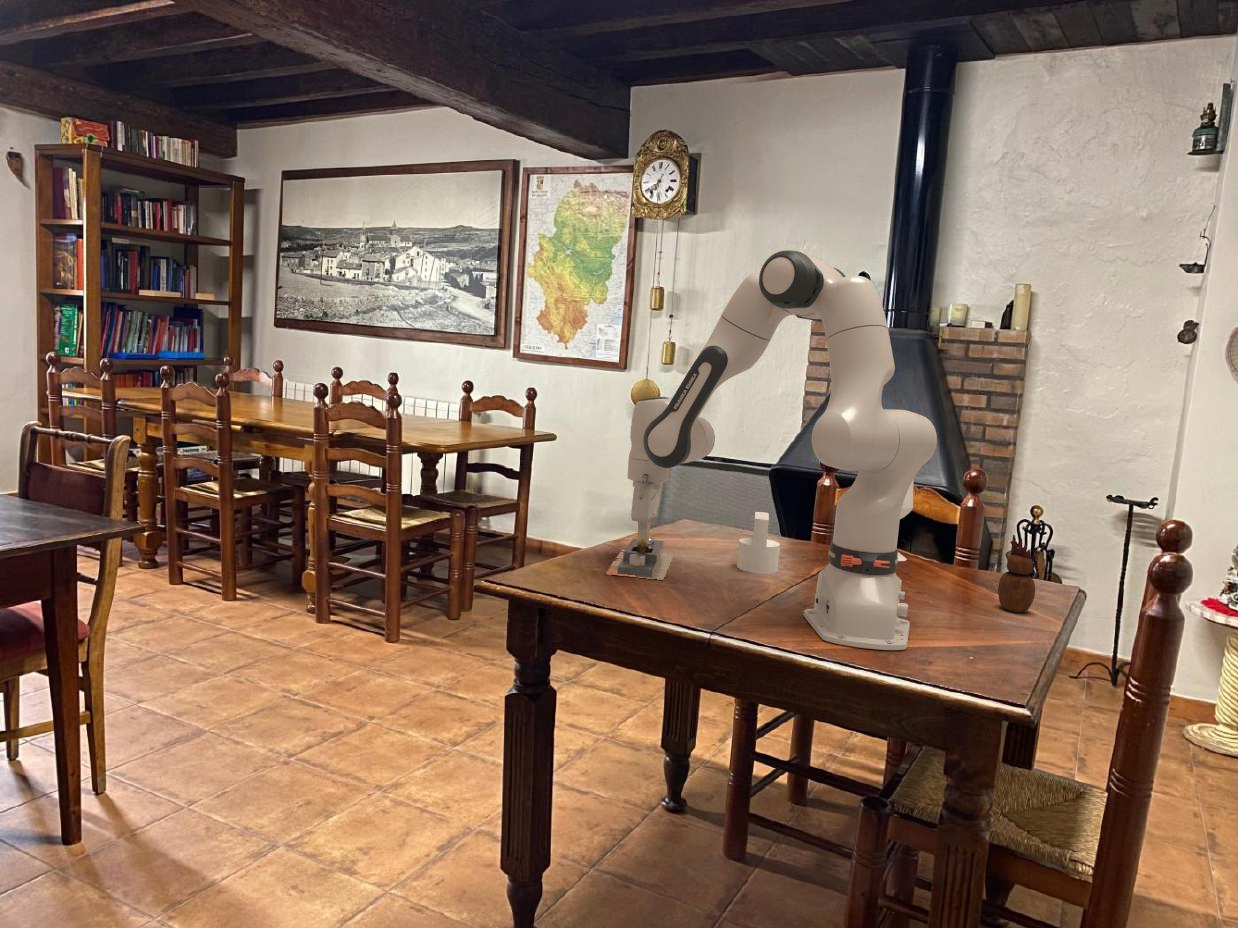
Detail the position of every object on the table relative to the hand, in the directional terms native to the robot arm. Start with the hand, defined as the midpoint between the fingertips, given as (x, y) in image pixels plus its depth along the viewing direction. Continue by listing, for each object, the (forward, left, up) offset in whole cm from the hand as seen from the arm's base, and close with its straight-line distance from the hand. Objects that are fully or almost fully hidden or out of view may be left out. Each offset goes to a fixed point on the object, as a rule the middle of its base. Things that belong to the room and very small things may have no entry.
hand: (643, 534), depth 195 cm
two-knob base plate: (0, 0, -7) cm, 7 cm away
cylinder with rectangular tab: (+8, -25, -7) cm, 27 cm away
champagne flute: (+34, -58, -7) cm, 68 cm away
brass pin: (0, 0, -5) cm, 5 cm away
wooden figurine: (-5, -76, -7) cm, 76 cm away
